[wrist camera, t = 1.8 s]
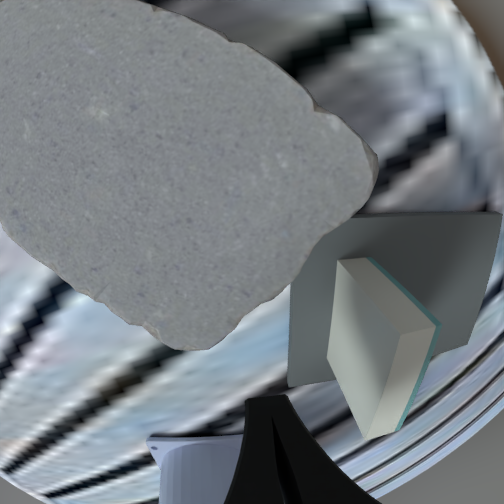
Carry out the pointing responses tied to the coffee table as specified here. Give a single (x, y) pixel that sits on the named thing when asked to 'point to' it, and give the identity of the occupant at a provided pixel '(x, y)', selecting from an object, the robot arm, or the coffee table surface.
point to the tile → (378, 345)
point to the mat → (402, 269)
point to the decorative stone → (165, 163)
